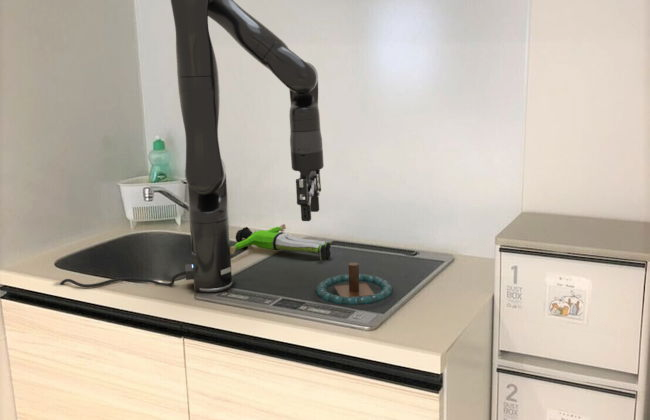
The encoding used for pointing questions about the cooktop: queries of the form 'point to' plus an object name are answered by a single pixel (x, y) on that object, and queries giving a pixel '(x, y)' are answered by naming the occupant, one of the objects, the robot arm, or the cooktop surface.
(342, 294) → the ring toss
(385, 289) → the ring
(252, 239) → the figurine
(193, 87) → the robot arm
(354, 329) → the cooktop surface
